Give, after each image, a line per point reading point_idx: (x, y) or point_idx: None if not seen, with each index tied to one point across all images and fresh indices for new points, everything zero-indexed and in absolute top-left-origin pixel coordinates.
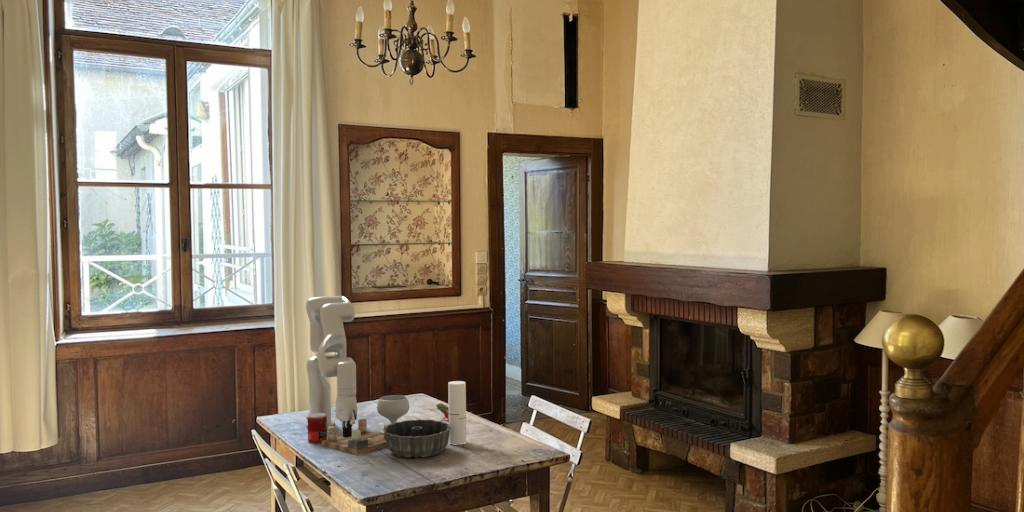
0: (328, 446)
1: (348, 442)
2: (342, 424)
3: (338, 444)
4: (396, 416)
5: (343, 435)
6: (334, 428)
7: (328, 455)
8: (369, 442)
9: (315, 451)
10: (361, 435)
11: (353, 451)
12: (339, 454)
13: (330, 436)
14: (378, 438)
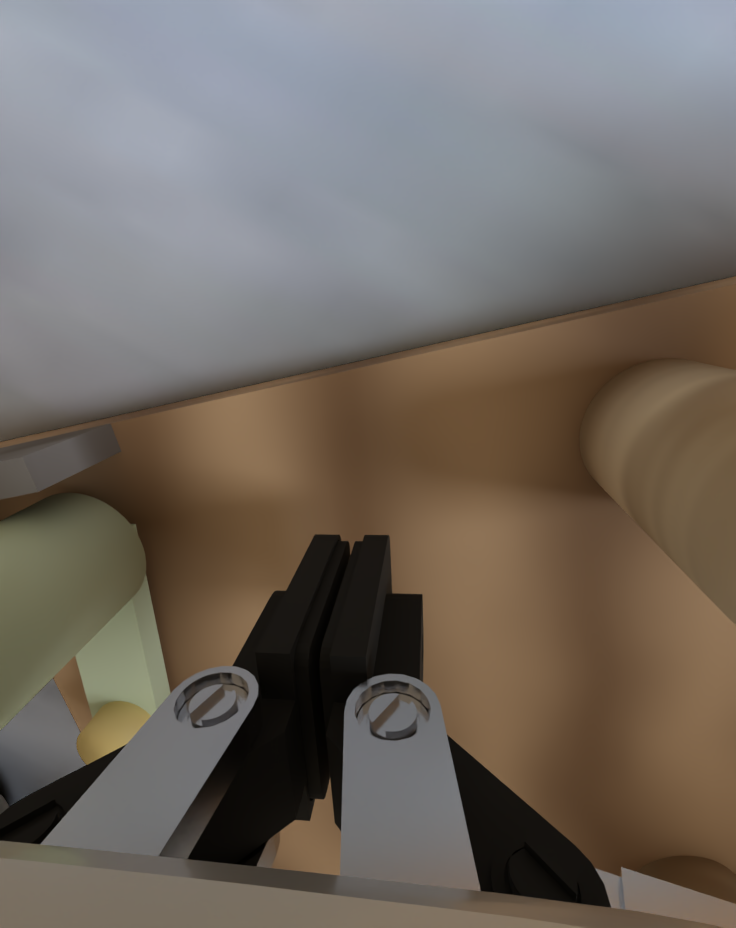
0: (567, 315)
1: (44, 448)
2: (421, 739)
3: (361, 398)
4: None
5: (361, 546)
6: (697, 542)
7: (170, 116)
8: (92, 698)
9: (523, 21)
10: (567, 822)
11: (34, 436)
12: (137, 280)
13: (659, 393)
14: (299, 855)
